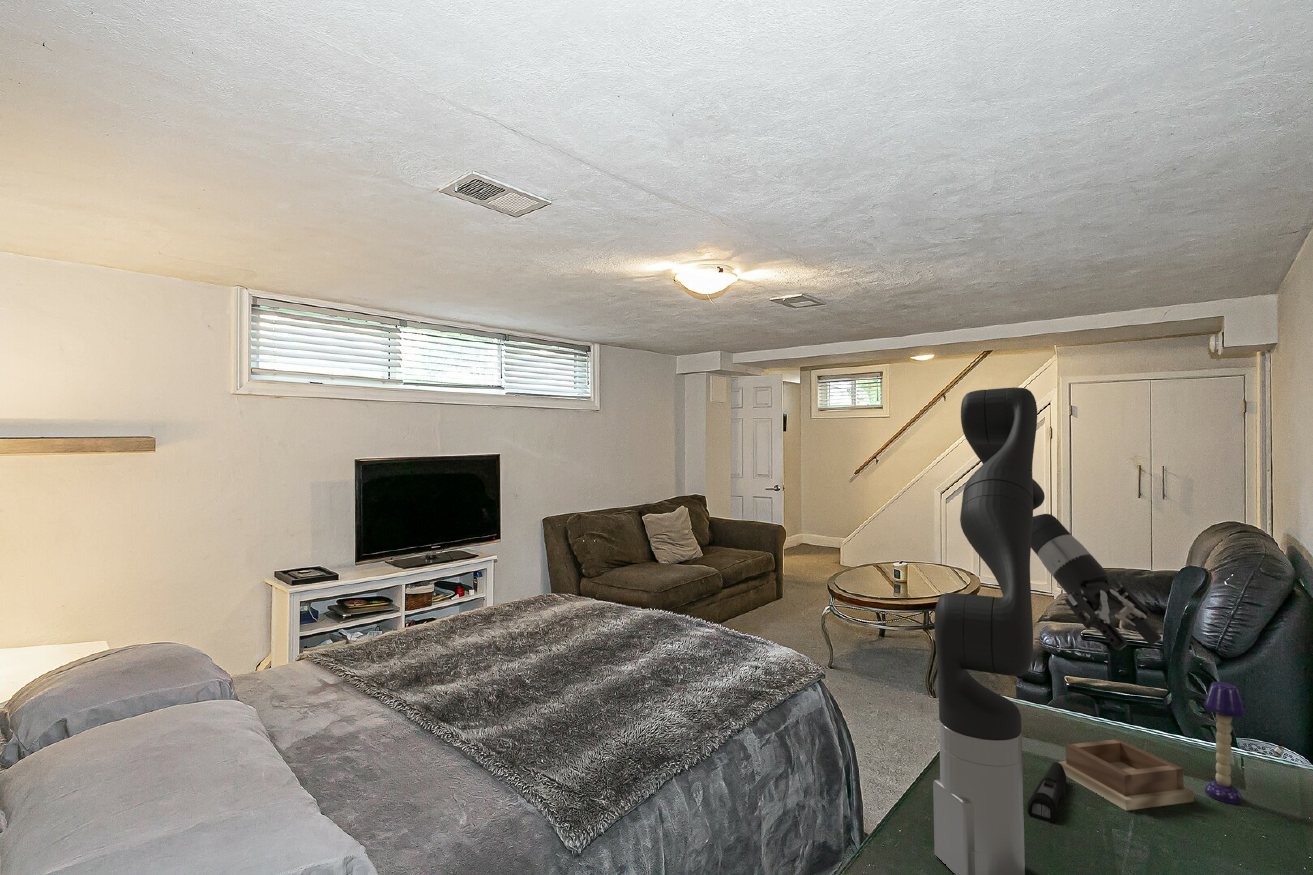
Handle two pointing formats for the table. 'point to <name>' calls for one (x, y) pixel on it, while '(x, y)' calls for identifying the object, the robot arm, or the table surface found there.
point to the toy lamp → (1224, 738)
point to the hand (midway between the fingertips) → (1139, 644)
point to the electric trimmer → (1048, 794)
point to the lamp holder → (1126, 774)
